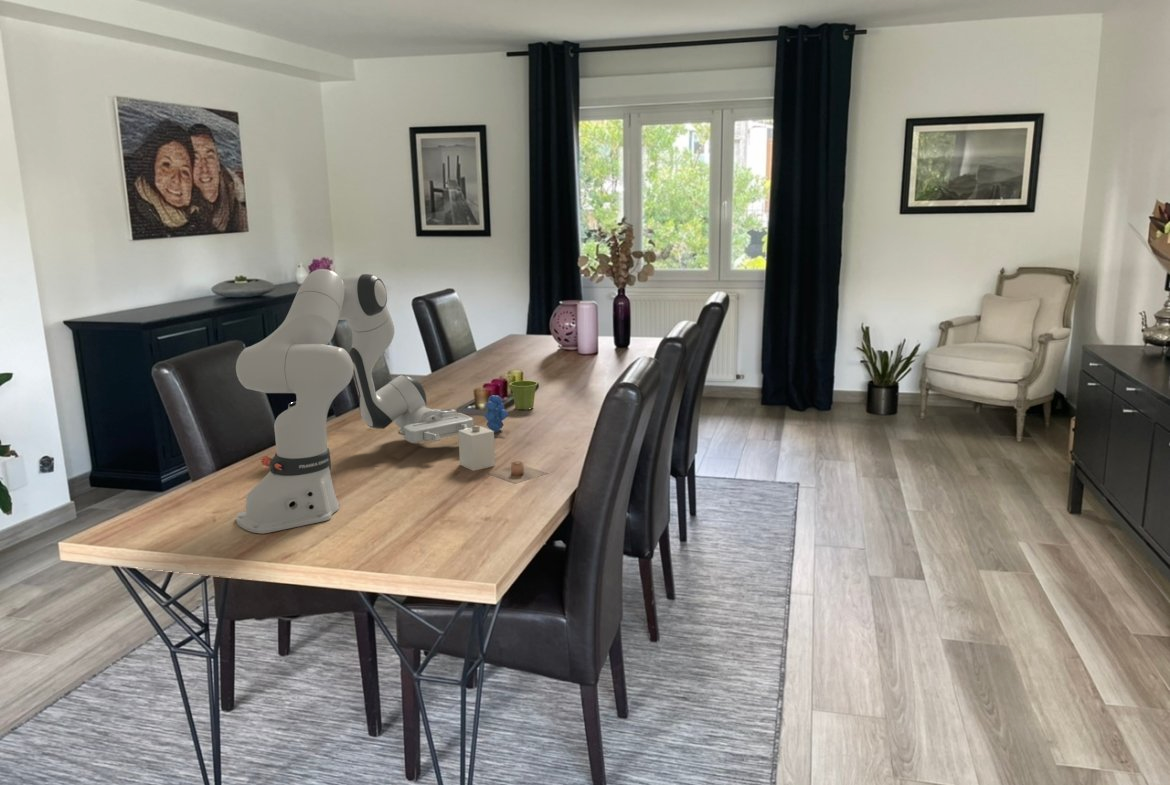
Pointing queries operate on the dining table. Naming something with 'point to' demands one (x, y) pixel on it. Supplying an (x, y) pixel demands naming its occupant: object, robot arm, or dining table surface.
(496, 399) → the blue bumpy lump
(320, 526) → the dining table surface
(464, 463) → the cover
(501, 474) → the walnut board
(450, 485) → the dining table surface
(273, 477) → the robot arm
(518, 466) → the brown short cylinder
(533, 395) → the plant pot
